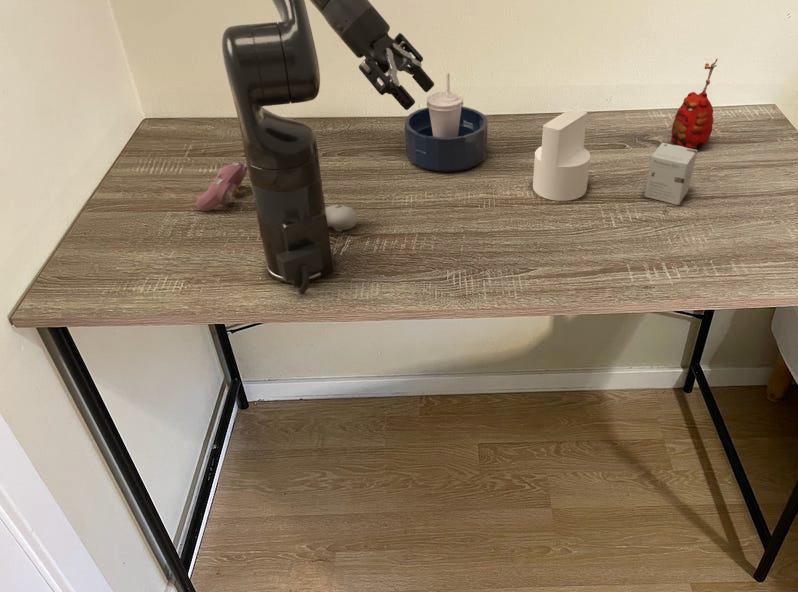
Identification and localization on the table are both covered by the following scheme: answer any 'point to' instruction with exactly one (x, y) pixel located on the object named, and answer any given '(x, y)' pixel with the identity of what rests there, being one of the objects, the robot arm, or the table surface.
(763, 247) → the table surface
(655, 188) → the product carton
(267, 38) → the robot arm
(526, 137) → the table surface
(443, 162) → the bowl
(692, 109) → the red clay folk toy
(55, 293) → the table surface
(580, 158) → the base with upright slab
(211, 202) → the video game controller
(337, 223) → the white head bust
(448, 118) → the smoothie
